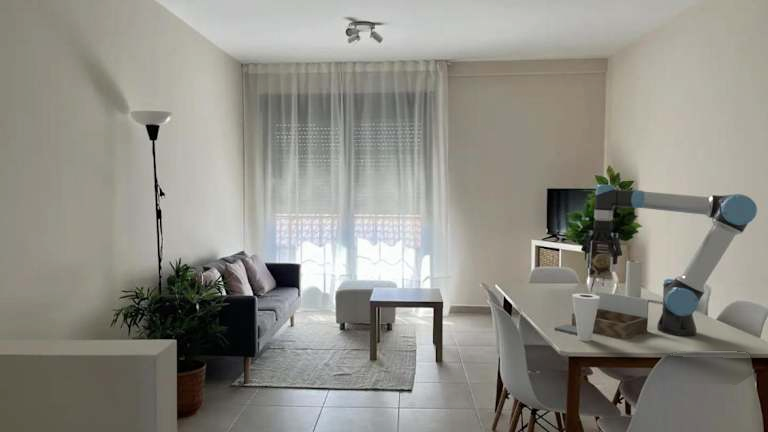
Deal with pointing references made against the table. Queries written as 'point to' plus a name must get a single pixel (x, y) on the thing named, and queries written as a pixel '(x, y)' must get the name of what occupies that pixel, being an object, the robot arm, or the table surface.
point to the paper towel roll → (633, 279)
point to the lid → (623, 304)
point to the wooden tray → (617, 324)
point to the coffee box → (600, 260)
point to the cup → (585, 314)
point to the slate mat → (567, 329)
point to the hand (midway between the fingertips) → (600, 269)
